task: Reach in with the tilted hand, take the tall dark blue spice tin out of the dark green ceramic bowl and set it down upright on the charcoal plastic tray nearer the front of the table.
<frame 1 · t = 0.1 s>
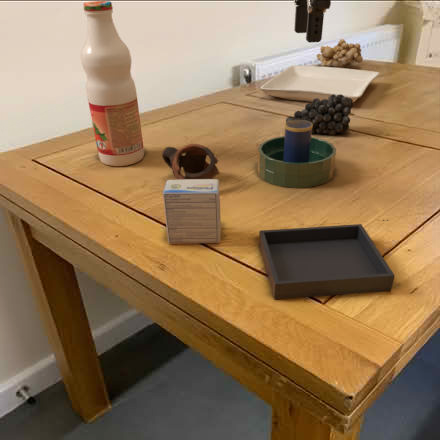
hand: (307, 37, 73), 24 cm above the table, tool pointing down, fingers open, 8 cm apart
fruit juice: (122, 159, 98), on the table
pottery mug: (191, 183, 88), on the table
square plate: (320, 92, 134), on the table
medicine box: (195, 238, 72), on the table
fruit: (317, 133, 107), on the table
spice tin: (295, 171, 89), resting on bowl
mineral formation: (340, 68, 156), on the table
tray: (320, 266, 65), on the table
bowl: (295, 174, 89), on the table
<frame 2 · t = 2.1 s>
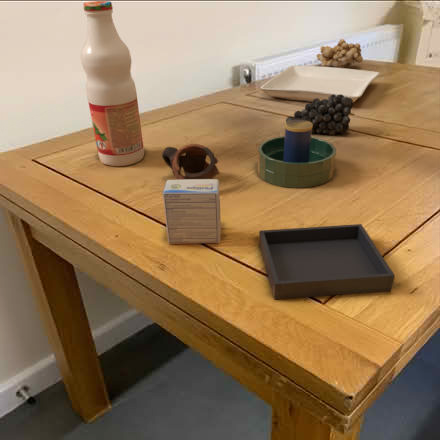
nothing on the table moved.
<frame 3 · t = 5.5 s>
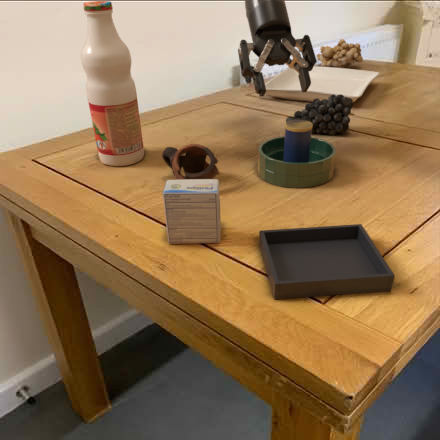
hand: (284, 92, 87), 13 cm above the table, tool tilted 45°, fingers open, 8 cm apart
nothing on the table moved.
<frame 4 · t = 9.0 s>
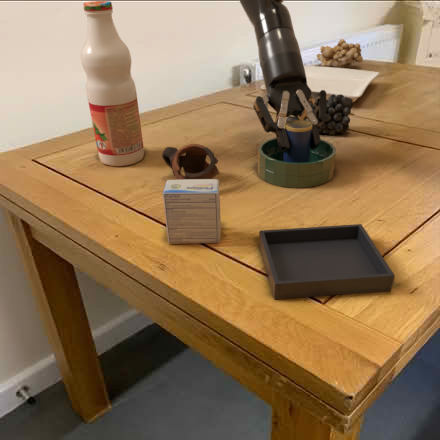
hand: (301, 148, 84), 6 cm above the table, tool tilted 45°, fingers closed on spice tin, 5 cm apart
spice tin: (295, 171, 89), point 1 cm above the table, touching bowl, gripper
everything else where it was.
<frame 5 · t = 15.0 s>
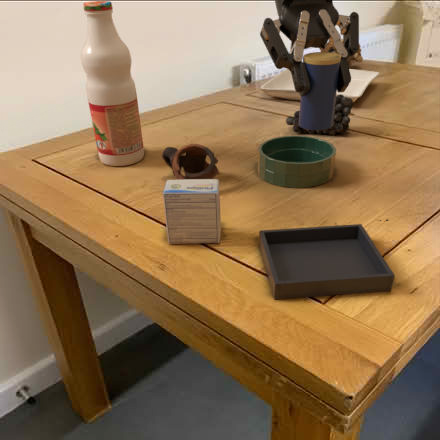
hand: (324, 90, 62), 20 cm above the table, tool tilted 45°, fingers closed on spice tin, 5 cm apart
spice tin: (315, 124, 67), point 15 cm above the table, touching gripper
everything else where it was.
when the fingers open (6 cm above the table, at t = 21.3 s): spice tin stays where it is, resting on tray.
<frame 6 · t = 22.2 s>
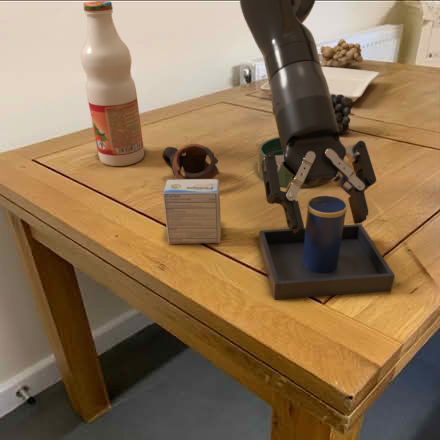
hand: (330, 226, 60), 7 cm above the table, tool tilted 45°, fingers open, 8 cm apart
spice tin: (319, 263, 65), resting on tray
everything else where it was.
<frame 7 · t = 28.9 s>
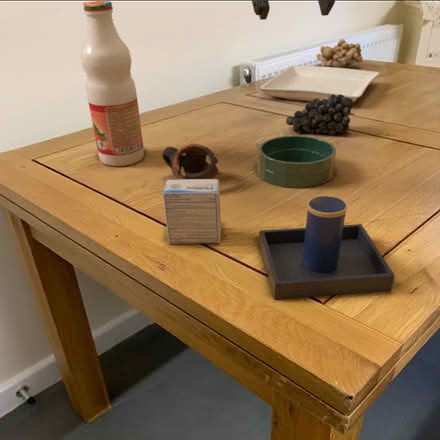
hand: (297, 13, 59), 29 cm above the table, tool tilted 45°, fingers open, 8 cm apart
nothing on the table moved.
at the end: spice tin inside the target area in the tray (0.1 cm from its centre), point 0.5 cm above the tray's base; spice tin tilted 0° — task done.
